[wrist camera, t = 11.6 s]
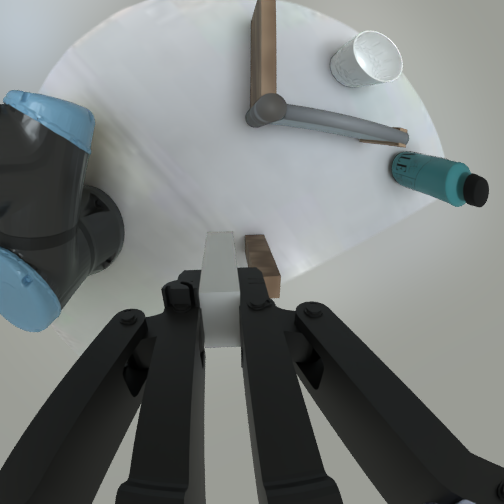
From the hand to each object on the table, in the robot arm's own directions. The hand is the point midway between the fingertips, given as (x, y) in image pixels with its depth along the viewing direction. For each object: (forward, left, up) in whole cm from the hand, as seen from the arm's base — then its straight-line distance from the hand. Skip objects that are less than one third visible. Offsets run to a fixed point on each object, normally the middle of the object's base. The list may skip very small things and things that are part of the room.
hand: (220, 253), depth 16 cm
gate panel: (+15, +9, -25) cm, 31 cm away
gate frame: (+5, +8, -26) cm, 28 cm away
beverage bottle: (+31, +4, -27) cm, 41 cm away
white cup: (+20, +20, -27) cm, 39 cm away
